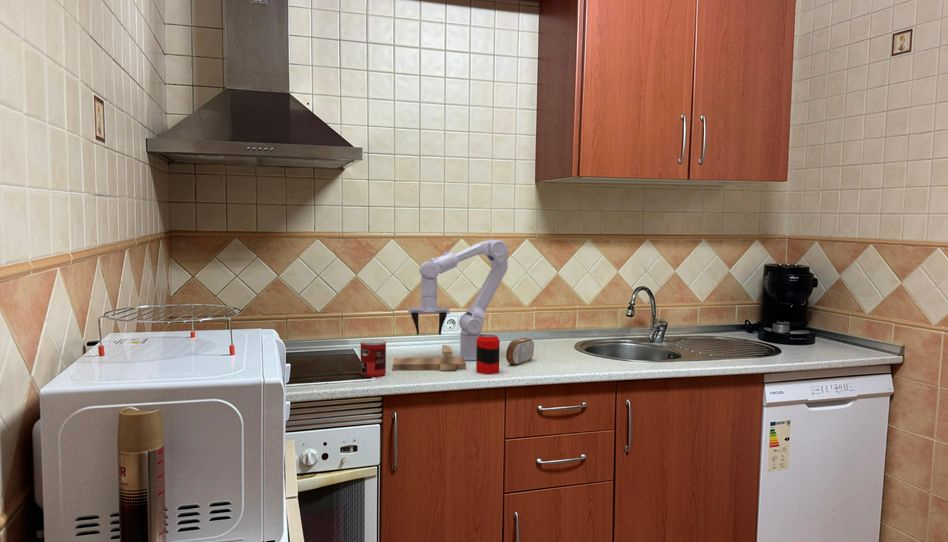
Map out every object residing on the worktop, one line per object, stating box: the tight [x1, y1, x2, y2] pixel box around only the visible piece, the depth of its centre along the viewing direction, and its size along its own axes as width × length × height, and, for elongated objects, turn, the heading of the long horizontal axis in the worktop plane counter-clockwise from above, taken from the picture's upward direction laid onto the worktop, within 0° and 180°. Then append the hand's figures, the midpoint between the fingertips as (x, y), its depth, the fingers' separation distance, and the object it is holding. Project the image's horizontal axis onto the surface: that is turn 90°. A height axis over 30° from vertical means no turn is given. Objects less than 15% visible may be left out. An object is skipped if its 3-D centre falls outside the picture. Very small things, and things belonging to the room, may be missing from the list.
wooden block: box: [439, 344, 457, 371], centre depth 217 cm, size 5×12×6 cm, turn 5°
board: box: [392, 357, 467, 371], centre depth 217 cm, size 24×10×2 cm, turn 95°
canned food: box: [360, 338, 387, 378], centre depth 205 cm, size 8×8×11 cm
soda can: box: [475, 333, 501, 375], centre depth 211 cm, size 8×8×12 cm
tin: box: [505, 337, 535, 366], centre depth 225 cm, size 15×3×8 cm, turn 145°
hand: (428, 334), depth 227 cm, fingers open, 7 cm apart
